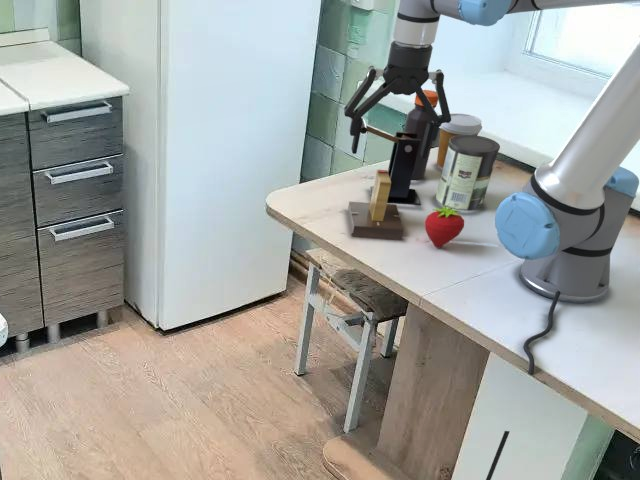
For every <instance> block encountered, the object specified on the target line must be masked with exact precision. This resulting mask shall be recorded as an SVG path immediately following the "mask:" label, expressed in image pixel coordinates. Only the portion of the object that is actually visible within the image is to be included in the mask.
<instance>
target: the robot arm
mask: <svg viewBox="0 0 640 480" xmlns="http://www.w3.org/2000/svg"><path fill="white" fill-rule="evenodd" d="M637 2H640V0H399V5H398V10H397V14H396V19H395V23H394V28H393V33H392V40H393V41H392V42H390V47H389V52H388V57H387V62H386V65H385V67H384V68H383V69H382V68H377V67H375V66H374V65H370V66H368V69H367V72H366V76H365V78H364V79H363V80H362V82H361V83H360V85H359V86H358V88H357V89H356V90H355V92H354V93H353V95H352V96H351V97H350V99H349V100H348V102H347V103H346V104H345V106H344V108H343V114H344V117H347V118H350V124H349V130H348V131H349V135H350V136H351V137H353V139H352V143H351V153H352V154H354V155H356V154H357V153H358V149H359V148H358V147H359V142H360V137H361V127H362V122H363V121H362V119H363V118H362V117H363V116H365V114H367V113H368V112H369V111H370V110H371V109H372V108H373V107H374V106H375V105H377V104H379V102H380V101H381V100H382V99H384V98H385V97H387V96H388V95H389V94H391V93H392V94H393V95H394V96H395V95H396V96H399V95H404V96H411V95H413V94H415V95H416V94H417V96H418V98H419V99H420V101H421V102H422V104H423V106H424V107H425V109H426V111H427V112H428V114H429V116H430V117H431V119H432V121H428V122H427V126H426V130H425V135H424V139H423V143H422V147H421V151H420V154H421V157H422V158H426V156H427V152H428V148H429V144H430V141H432V142H435V141H437V137H438V133H439V129H440V128H441V127H440V126H441V124H442V123H449V122H450V121H451V116H450V114H451V112H450V108H449V104H448V99H447V95H446V92H445V87H444V82H445V74H444V72H443V70H442V69H440V68H439V69H437V70H435V71H429V66H430V62H431V58H432V53H433V49H434V47H433V44H434V43H435V40H436V36H437V33H438V28H439V24H440V23H439V22H440V18H441V16H445V17H449V18H452V19H455V20H458V21H461V22H464V23H466V24H470V25H472V26H476V25H477V26H483V27H492V26H494V25H496V24H497V23H498V21H500V20H502V19H503V18H504V17H505V16H506V15H510V14H511V15H513V14H519V13H527V12H539V11H545V10H557V9H566V8H567V9H569V8H570V9H571V8H578V7H579V8H580V7H589V6H591V7H592V6H601V5H613V4H614V5H615V4H624V3H637ZM380 77H382V79H383V80H384V82H383V83H382V84H381V85H380V86H379V87H378V88H377V89H376V90H375V91H374V92H373V93H372V94H370V96H368V97H367V98H366V99H365V100H364V101H363V102H362V103H361V104H360V102H361V101H362V100H363V98H364V97H365V95H366V94H367V93H368V91H369V90H370V88H371V87H372V85H373V84H374V82H375V81H378V80H379V78H380ZM428 80H430V83H431V84H432V85H434V89H435V92H436V93H437V97H438V104H439V107H440V108H439V109H440V113H441V114H438V113H437V111H436V110H435V109H434V108H433V106H432V105H431V103H430V101H429V100H428V98H427V96H426V95H425V93H424V91H423V90H424V89H423V88H422V87H423V85H424V84H425V83H426V82H427V81H428ZM359 104H360V105H359ZM639 141H640V35H639V36H638V38H637V39H636V40H635V42H634V43H633V45H632V46H631V48H630V49H629V51H628V52H627V53H626V55H625V56H624V58H623V59H622V60H621V62H620V64H619V65H618V67H617V69H615V71H614V72H613V74H612V75H611V77H610V79H609V80H608V81H607V83H606V84H605V85H604V86H603V88H602V90H601V91H600V93H599V94H598V95H597V97H596V98H595V100H594V101H593V103H592V104H591V106H590V107H589V108H588V110H587V111H586V113H585V114H584V116H583V117H582V119H581V120H580V122H579V123H578V124H577V126H576V128H575V129H574V131H573V132H572V133H571V134H570V136H569V137H568V139H567V140H566V142H565V143H564V145H563V146H562V147H561V149H560V150H559V152H558V154H556V156H555V158H554V159H553V161H547V162H543V163H541V164H540V165H538V166H537V167H536V168H535V170H534V172H532V174H531V176H530V177H529V179H528V181H527V182H526V183H525V185H524V186H523V187H522V189H521V190H520V191H517V192H513V193H511V194H510V195H509V196H508V197H506V198H504V199H503V200H502V201H501V202H500V204H499V205H498V207H497V209H496V212H495V216H494V228H495V229H496V231H497V233H496V236H497V238H498V240H499V241H500V244H501V245H502V246H503V247H504V249H505V250H507V251H508V253H510V254H511V255H513V256H514V257H517V258H518V259H522V260H523V262H522V264H521V265H520V269H519V272H518V276H519V279H520V281H521V282H522V283H523V284H524V286H526V287H527V288H528V289H530V290H531V291H533V292H535V293H536V294H539V295H540V296H544V297H546V298H549V299H552V301H551V305H550V308H549V309H548V310H549V311H548V314H547V326H546V328H545V329H544V330H543V331H541V332H539V333H536V334H534V335H532V336H530V337H529V338H527V339H526V340H525V341H524V343H523V351H524V353H525V354H526V356H527V358H528V360H529V361H528V362H529V365H528V366H529V368H528V371H527V373H528V375H529V376H533V375H534V373H535V372H534V371H535V359H534V357H535V356H534V354H533V353H532V351H531V350H530V349H529V345H530V344H531V343H532V342H534V341H536V340H538V339H541V338H543V337H545V336H547V334H549V333H550V332H551V330H552V328H553V326H554V313H555V312H554V311H555V309H556V307H557V305H558V301H559V302H564V303H571V304H589V303H595V302H597V301H600V300H602V299H603V298H604V297H605V296H606V293H607V292H608V289H609V285H610V275H611V274H610V273H611V272H610V271H611V254H612V251H613V249H614V246H615V244H616V242H617V240H618V237H619V235H620V232H621V230H622V228H623V225H624V223H625V221H626V219H627V217H628V214H629V211H630V209H631V207H632V205H633V202H634V200H635V199H636V198H637V191H638V189H639V187H640V186H639V185H640V179H639V177H638V175H636V174H635V172H633V171H631V170H630V169H627V168H625V167H623V166H621V164H622V163H623V162H624V161H625V159H626V158H627V157H628V155H629V154H630V153H631V151H632V150H633V149H634V148H635V147H636V145H637V144H638V142H639ZM509 435H510V430H504V432H503V435H502V437H501V440H500V442H499V445H498V448H497V450H496V452H495V455H494V457H493V461H492V463H491V465H490V467H489V471H488V473H487V476H486V478H485V480H492V478H493V475H494V473H495V470H496V468H497V465H498V462H499V460H500V458H501V455H502V453H503V450H504V447H505V444H506V442H507V439H508V438H509Z"/></svg>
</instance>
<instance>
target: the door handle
mask: <svg viewBox="0 0 640 480" xmlns="http://www.w3.org/2000/svg"><path fill="white" fill-rule="evenodd" d="M362 121H363V122H362V127H361V132H360V134H362V135H365V134H366V133H367V132H368V133H371V134H373V135H376V136H378V137H380V138H383V139H385V140H387V141H391V142H392V143H394V142H395V143H398V140H399V137H396V136H395V135H394V134H392V133H389V132H386V131H385V130H381V129H379V128H377V127H374V126H372V125H369V124H367V123H366V121H365V118H362ZM401 138H410V137H407V136H405V135H403V136H402V137H401Z"/></svg>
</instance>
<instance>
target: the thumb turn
mask: <svg viewBox="0 0 640 480" xmlns="http://www.w3.org/2000/svg"><path fill="white" fill-rule="evenodd" d="M390 187H391V180H390V177H389V174H388V169H377V170H376V172H375V178H374V183H373V192H371V198H370V202H369V203H370V207H369V209H370V213H371V218H372V221H383V218H384V214H385V209H386V205H387V204H388V203H387V200H388V196H389V191H390Z"/></svg>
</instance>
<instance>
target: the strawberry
mask: <svg viewBox="0 0 640 480" xmlns="http://www.w3.org/2000/svg"><path fill="white" fill-rule="evenodd" d="M448 205H449V204H448ZM448 205H447V206H448ZM460 212H461V210H457V209H453V208H449V207H446V206H444V205H442V208H438V207H437V208H433V209H432V212H431V213H430V214H429V215H427V216H426V219H425V221H424V227H425V233H426V234H427V236H428V238H429V240H430V241H431V242H432V244H433V246H434V247H435V248H437V249H438V248H442V247H444V245H446V244H448V243H450V242H451V241H453V240H454V239H455V238H456V237H458V236H459V235H460V234H461V233H462V231H463V230H464V228H465V219H464V218H463V217H462V216H461V215H460V214H459V213H460Z"/></svg>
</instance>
